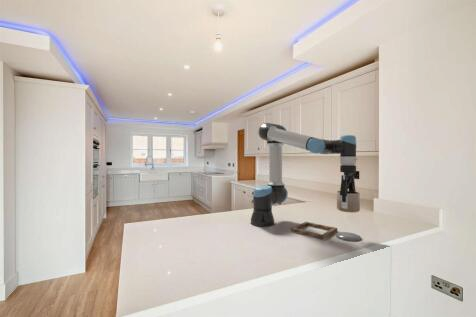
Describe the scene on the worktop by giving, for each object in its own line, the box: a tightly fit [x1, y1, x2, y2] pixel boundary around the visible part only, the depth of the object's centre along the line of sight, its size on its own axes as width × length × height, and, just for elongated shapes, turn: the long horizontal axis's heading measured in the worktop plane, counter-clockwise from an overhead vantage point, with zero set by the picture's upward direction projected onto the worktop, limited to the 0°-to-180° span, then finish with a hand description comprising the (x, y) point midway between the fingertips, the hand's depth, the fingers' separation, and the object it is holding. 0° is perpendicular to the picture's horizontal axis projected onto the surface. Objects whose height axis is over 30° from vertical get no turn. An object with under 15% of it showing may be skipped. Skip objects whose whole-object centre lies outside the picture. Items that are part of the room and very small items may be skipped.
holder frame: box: [290, 221, 338, 241], centre depth 126 cm, size 19×19×2 cm
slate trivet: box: [335, 231, 362, 242], centre depth 116 cm, size 12×12×1 cm
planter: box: [336, 190, 361, 214], centre depth 116 cm, size 11×11×10 cm
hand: (348, 206), depth 116 cm, fingers closed on planter, 11 cm apart
